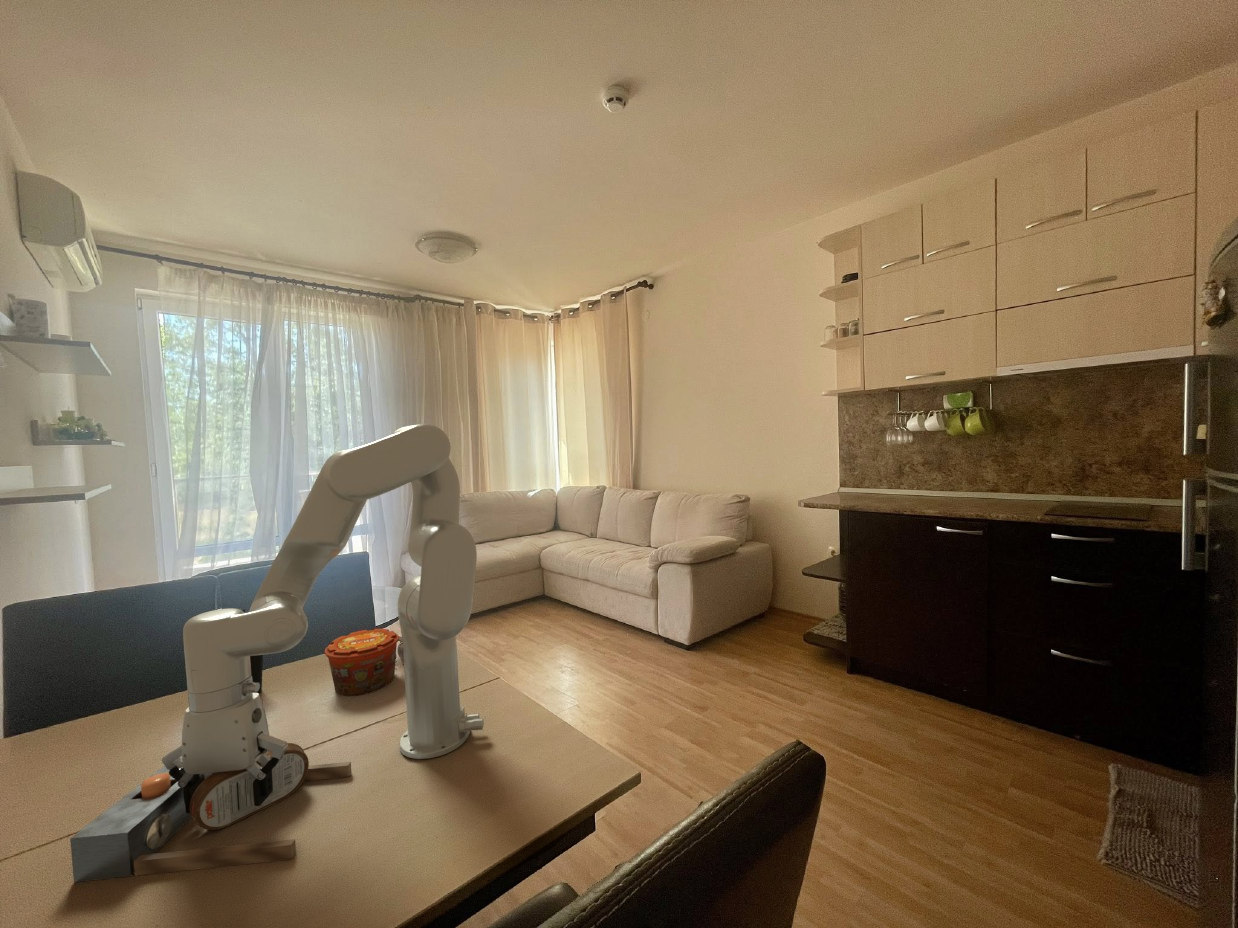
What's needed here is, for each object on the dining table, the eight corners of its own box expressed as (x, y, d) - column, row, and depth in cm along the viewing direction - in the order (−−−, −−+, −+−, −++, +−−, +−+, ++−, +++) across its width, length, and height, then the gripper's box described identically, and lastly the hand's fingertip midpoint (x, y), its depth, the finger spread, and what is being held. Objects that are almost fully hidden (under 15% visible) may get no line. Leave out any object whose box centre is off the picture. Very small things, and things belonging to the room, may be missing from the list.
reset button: (177, 790, 76) (175, 771, 76) (159, 805, 73) (158, 785, 73) (154, 792, 76) (153, 773, 76) (136, 807, 73) (134, 787, 73)
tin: (306, 780, 84) (302, 731, 84) (312, 787, 82) (309, 738, 82) (191, 835, 73) (186, 779, 73) (195, 845, 71) (191, 788, 71)
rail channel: (351, 772, 86) (350, 761, 86) (291, 858, 68) (291, 844, 68) (229, 784, 84) (228, 772, 84) (134, 875, 66) (133, 861, 66)
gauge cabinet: (228, 784, 84) (226, 749, 84) (134, 875, 66) (131, 832, 66) (181, 788, 83) (179, 753, 83) (73, 881, 65) (70, 838, 65)
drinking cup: (236, 689, 119) (231, 607, 118) (273, 683, 121) (268, 603, 120) (222, 704, 112) (215, 617, 111) (261, 698, 114) (255, 612, 113)
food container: (336, 707, 108) (333, 659, 108) (320, 683, 120) (317, 640, 120) (411, 682, 119) (408, 638, 119) (389, 662, 131) (386, 622, 130)
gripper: (295, 676, 79) (302, 780, 80) (179, 686, 78) (188, 792, 78) (266, 700, 72) (275, 814, 73) (137, 711, 70) (147, 828, 71)
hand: (230, 802), depth 75 cm, fingers open, 9 cm apart
